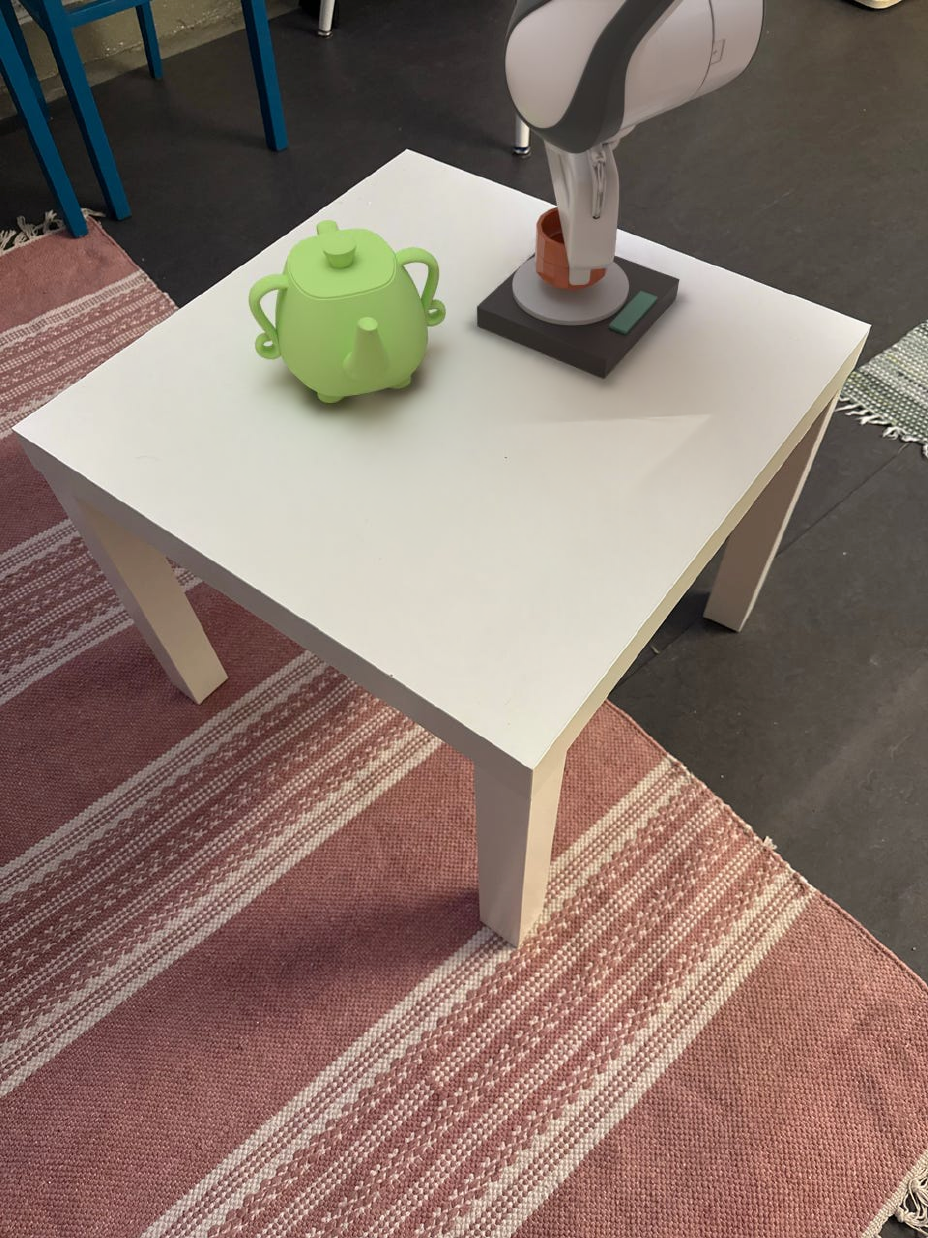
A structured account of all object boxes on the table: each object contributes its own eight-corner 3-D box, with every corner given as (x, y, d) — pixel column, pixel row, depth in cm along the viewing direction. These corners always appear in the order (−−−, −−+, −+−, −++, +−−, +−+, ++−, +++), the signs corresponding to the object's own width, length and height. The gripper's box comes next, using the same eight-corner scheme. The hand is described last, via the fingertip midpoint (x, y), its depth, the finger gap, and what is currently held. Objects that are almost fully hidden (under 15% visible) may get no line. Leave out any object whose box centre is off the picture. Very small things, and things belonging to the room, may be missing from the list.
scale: (676, 298, 89) (680, 273, 87) (604, 379, 83) (607, 354, 81) (553, 252, 94) (555, 227, 92) (476, 325, 88) (476, 300, 86)
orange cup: (601, 247, 87) (606, 202, 84) (612, 290, 84) (617, 245, 80) (531, 251, 87) (533, 206, 84) (538, 294, 84) (540, 249, 80)
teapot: (478, 357, 85) (477, 232, 75) (385, 447, 79) (370, 325, 69) (344, 298, 91) (325, 175, 81) (247, 378, 84) (213, 255, 74)
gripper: (646, 164, 67) (624, 322, 78) (606, 36, 78) (591, 190, 90) (560, 169, 67) (550, 327, 78) (532, 40, 78) (527, 193, 90)
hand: (572, 252), depth 84 cm, fingers closed on orange cup, 7 cm apart
